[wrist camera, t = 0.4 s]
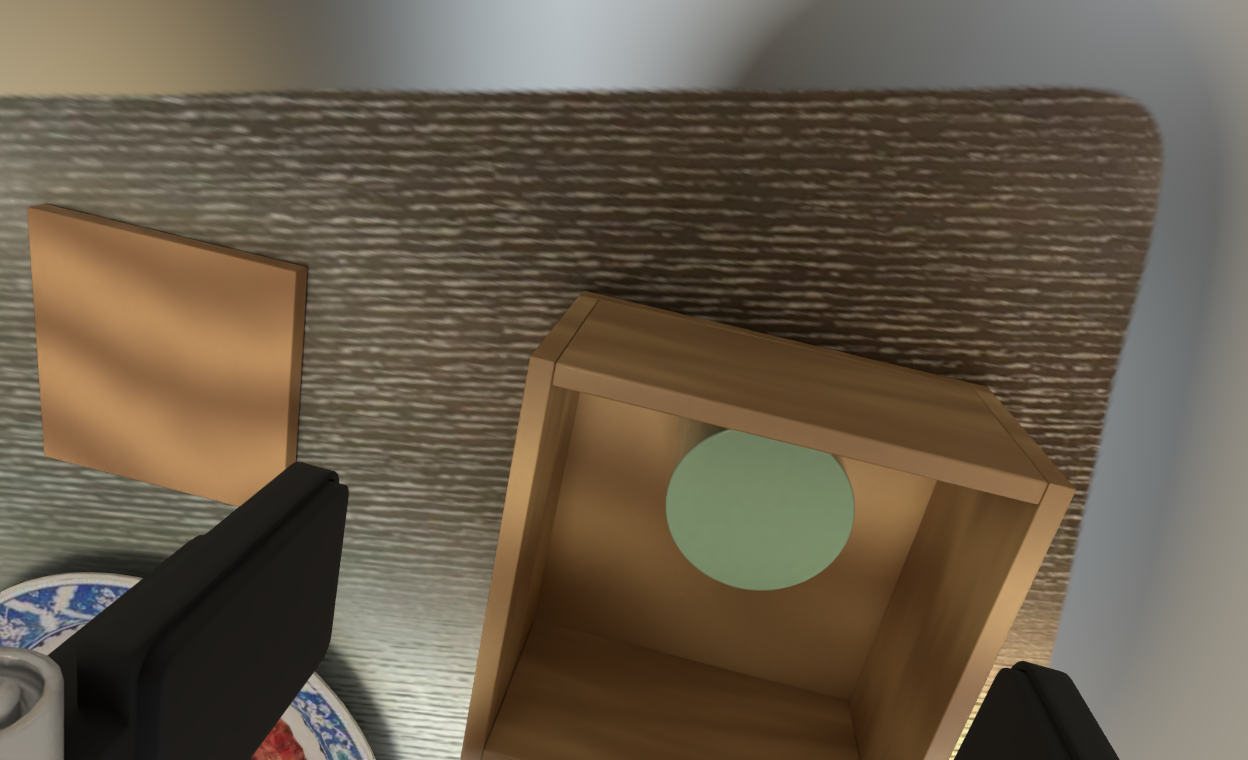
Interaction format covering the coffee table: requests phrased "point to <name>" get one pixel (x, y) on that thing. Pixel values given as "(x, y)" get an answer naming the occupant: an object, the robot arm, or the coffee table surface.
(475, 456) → the coffee table surface
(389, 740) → the coffee table surface
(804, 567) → the sage green cylinder
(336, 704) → the ceramic plate
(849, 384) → the chest
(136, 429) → the trivet
